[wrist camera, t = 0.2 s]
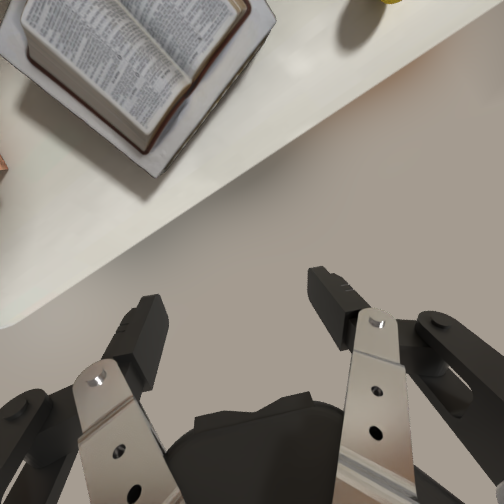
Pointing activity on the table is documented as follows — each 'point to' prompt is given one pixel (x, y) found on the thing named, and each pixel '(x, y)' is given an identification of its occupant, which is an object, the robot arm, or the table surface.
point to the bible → (136, 63)
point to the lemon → (390, 1)
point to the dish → (2, 164)
